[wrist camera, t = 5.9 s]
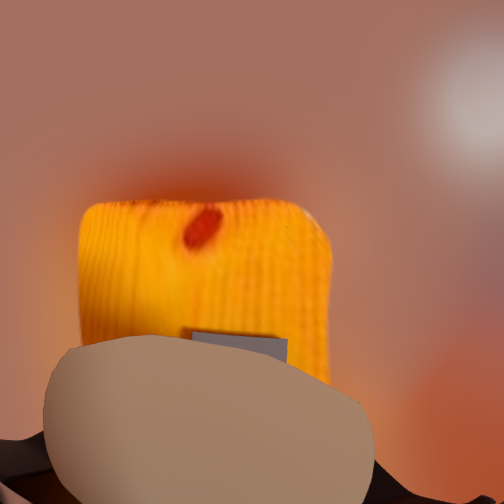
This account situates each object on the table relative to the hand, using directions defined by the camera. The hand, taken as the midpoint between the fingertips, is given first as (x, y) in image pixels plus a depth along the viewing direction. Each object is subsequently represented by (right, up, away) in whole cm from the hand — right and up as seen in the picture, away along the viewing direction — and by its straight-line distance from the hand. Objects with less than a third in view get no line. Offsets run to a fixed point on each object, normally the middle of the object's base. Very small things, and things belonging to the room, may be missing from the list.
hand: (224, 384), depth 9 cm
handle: (0, -5, +8) cm, 10 cm away
